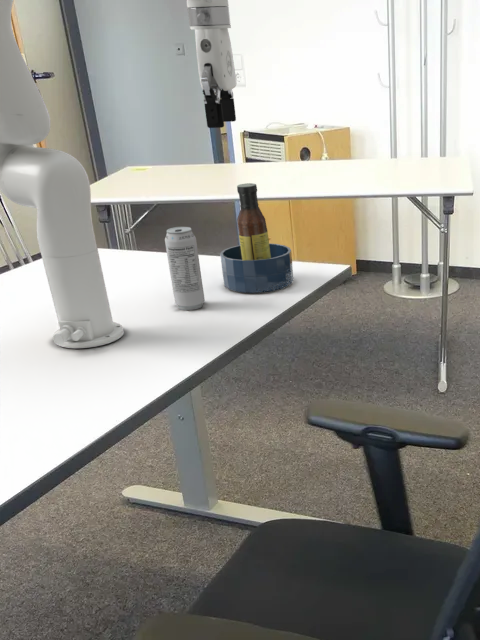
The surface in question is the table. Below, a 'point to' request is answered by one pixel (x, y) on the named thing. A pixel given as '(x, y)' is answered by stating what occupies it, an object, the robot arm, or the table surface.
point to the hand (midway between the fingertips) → (222, 124)
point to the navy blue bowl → (257, 270)
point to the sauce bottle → (252, 225)
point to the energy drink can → (184, 268)
